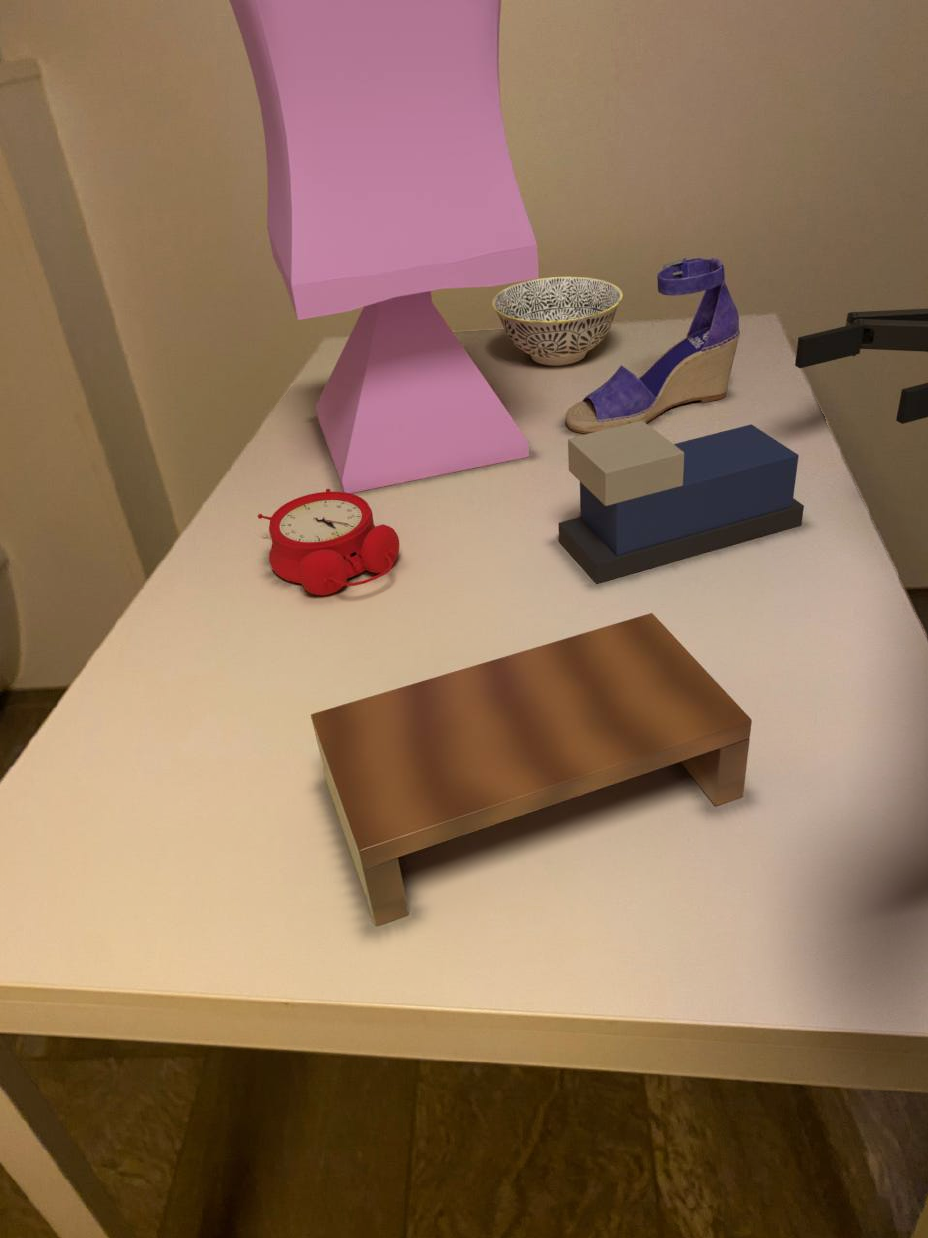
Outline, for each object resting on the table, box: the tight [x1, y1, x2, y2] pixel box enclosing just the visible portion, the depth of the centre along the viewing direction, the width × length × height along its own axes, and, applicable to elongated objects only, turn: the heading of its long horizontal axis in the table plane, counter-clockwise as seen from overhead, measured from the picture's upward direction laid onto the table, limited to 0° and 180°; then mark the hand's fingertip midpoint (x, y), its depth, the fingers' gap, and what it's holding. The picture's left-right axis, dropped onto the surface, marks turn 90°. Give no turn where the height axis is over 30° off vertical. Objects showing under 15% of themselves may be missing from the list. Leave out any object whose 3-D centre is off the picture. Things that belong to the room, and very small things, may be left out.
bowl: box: [491, 276, 624, 367], centre depth 120 cm, size 16×16×8 cm
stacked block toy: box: [558, 421, 805, 585], centre depth 83 cm, size 20×8×10 cm, turn 110°
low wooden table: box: [310, 612, 753, 927], centre depth 60 cm, size 24×12×6 cm, turn 110°
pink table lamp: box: [229, 0, 540, 494], centre depth 93 cm, size 22×22×45 cm
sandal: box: [565, 257, 741, 435], centre depth 102 cm, size 8×20×15 cm, turn 100°
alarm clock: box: [257, 488, 400, 596], centre depth 85 cm, size 10×6×15 cm
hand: (846, 378), depth 83 cm, fingers open, 13 cm apart
